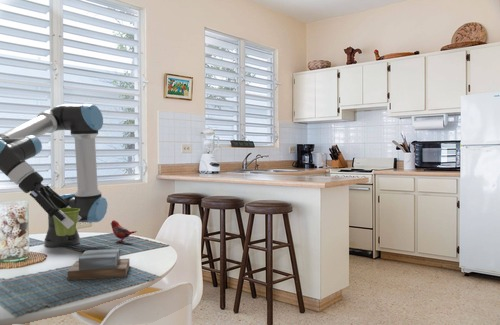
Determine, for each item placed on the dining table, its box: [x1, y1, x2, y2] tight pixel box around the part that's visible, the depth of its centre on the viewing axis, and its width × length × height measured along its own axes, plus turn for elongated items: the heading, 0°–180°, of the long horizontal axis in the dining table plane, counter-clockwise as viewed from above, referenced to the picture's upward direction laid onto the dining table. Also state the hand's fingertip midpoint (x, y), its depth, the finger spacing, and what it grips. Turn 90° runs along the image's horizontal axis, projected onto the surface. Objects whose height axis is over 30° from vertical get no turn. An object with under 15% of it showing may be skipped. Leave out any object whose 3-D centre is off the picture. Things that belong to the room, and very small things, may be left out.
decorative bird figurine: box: [110, 220, 138, 243], centre depth 194 cm, size 3×18×10 cm, turn 59°
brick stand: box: [67, 248, 130, 281], centre depth 147 cm, size 13×19×7 cm
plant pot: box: [53, 208, 80, 236], centre depth 143 cm, size 9×9×9 cm
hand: (75, 223), depth 143 cm, fingers closed on plant pot, 9 cm apart
